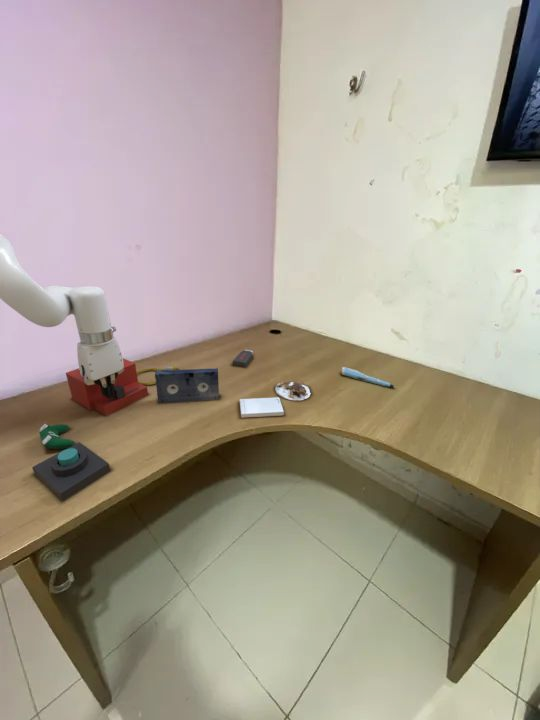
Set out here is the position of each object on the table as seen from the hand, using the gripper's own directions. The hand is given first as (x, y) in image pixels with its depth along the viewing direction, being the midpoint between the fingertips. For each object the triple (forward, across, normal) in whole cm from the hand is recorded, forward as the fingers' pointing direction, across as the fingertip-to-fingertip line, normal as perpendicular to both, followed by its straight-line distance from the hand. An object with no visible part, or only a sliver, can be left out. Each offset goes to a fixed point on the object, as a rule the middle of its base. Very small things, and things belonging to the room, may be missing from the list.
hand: (109, 396), depth 88 cm
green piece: (+5, +16, +2) cm, 17 cm away
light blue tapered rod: (+5, -64, +54) cm, 84 cm away
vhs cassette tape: (+5, -17, +13) cm, 22 cm away
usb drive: (+5, -50, +9) cm, 51 cm away
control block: (+5, +19, +16) cm, 25 cm away
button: (+1, +19, +16) cm, 24 cm away
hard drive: (+5, -26, +34) cm, 44 cm away
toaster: (+5, -4, -7) cm, 9 cm away
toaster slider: (+2, -3, 0) cm, 3 cm away
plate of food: (+5, -41, +37) cm, 56 cm away
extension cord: (+5, -20, -6) cm, 22 cm away
